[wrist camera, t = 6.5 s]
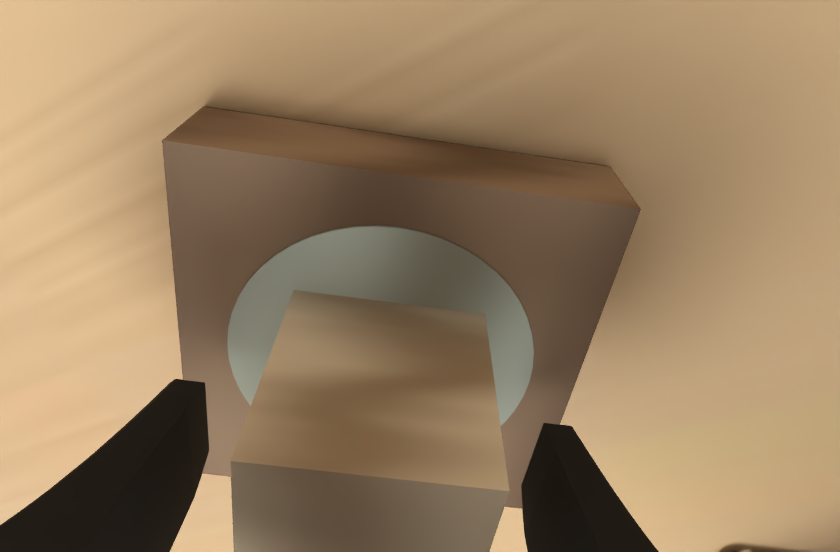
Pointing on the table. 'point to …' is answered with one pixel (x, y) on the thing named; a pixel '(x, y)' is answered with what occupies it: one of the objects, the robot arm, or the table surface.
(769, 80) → the table surface
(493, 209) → the plinth
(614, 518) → the robot arm
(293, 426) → the block
